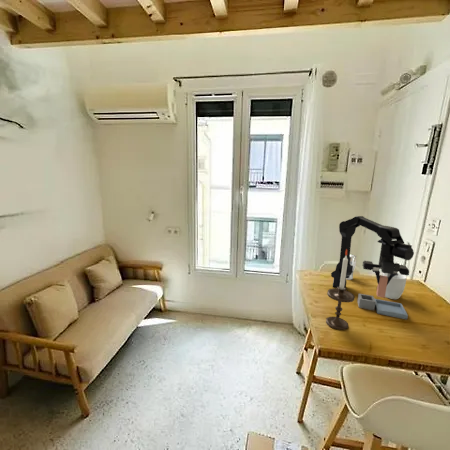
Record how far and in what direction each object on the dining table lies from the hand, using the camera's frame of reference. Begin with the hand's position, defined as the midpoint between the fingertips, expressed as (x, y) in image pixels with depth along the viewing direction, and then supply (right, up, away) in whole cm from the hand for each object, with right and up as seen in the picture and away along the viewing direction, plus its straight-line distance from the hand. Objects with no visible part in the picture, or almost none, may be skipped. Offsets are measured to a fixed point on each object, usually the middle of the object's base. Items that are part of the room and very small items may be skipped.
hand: (382, 284), depth 129 cm
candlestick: (-27, -15, -11) cm, 33 cm away
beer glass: (+2, -5, +41) cm, 41 cm away
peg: (0, -6, +1) cm, 6 cm away
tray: (+4, -14, +1) cm, 14 cm away
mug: (+15, -11, +17) cm, 25 cm away
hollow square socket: (-6, -12, +5) cm, 15 cm away
